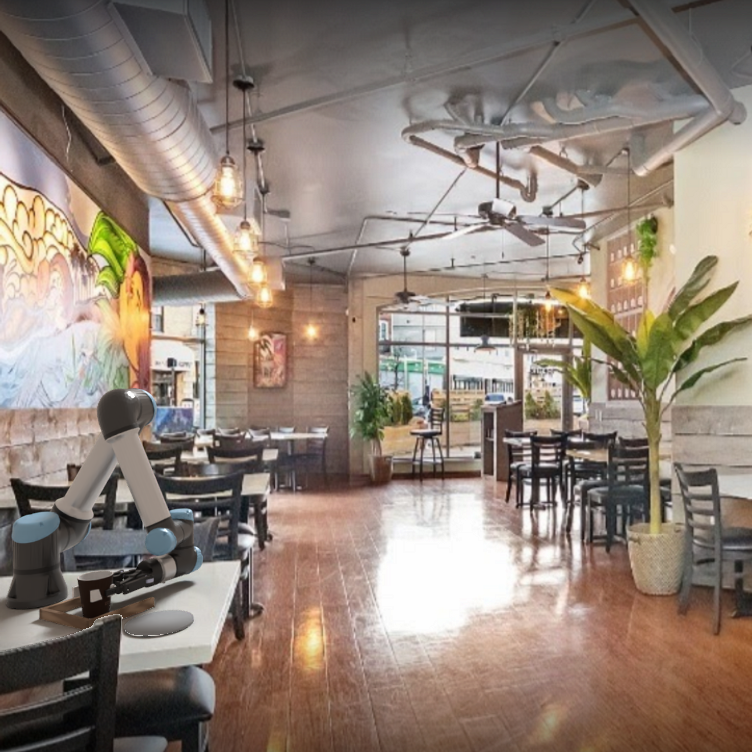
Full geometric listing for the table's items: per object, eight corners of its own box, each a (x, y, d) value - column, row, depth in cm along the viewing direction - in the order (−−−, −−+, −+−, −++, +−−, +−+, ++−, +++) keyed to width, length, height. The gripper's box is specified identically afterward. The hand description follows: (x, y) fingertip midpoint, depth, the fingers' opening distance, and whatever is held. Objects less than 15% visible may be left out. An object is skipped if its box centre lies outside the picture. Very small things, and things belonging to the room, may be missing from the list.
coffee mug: (100, 620, 160) (99, 580, 160) (70, 619, 162) (69, 579, 162) (127, 605, 171) (126, 567, 171) (99, 604, 173) (98, 567, 173)
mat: (129, 617, 162) (129, 614, 162) (194, 610, 165) (194, 606, 165) (119, 640, 146) (119, 637, 146) (192, 632, 150) (192, 628, 150)
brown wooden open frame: (105, 596, 179) (105, 587, 179) (154, 607, 169) (154, 597, 169) (39, 618, 163) (39, 608, 163) (89, 631, 152) (89, 621, 152)
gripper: (179, 588, 177) (107, 615, 157) (132, 579, 187) (59, 603, 167) (179, 561, 177) (106, 584, 157) (132, 554, 187) (58, 575, 167)
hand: (82, 594), depth 162 cm, fingers open, 7 cm apart
